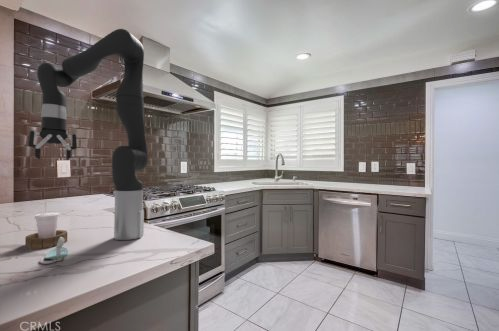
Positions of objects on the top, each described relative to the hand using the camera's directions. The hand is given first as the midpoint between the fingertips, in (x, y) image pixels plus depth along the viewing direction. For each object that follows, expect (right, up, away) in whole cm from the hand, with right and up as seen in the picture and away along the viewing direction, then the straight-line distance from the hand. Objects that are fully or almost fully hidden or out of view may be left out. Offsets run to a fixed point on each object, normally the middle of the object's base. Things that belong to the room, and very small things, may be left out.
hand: (53, 159), depth 92 cm
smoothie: (+9, -28, -13) cm, 33 cm away
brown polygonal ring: (+9, -28, -13) cm, 32 cm away
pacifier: (+22, -29, -26) cm, 45 cm away
